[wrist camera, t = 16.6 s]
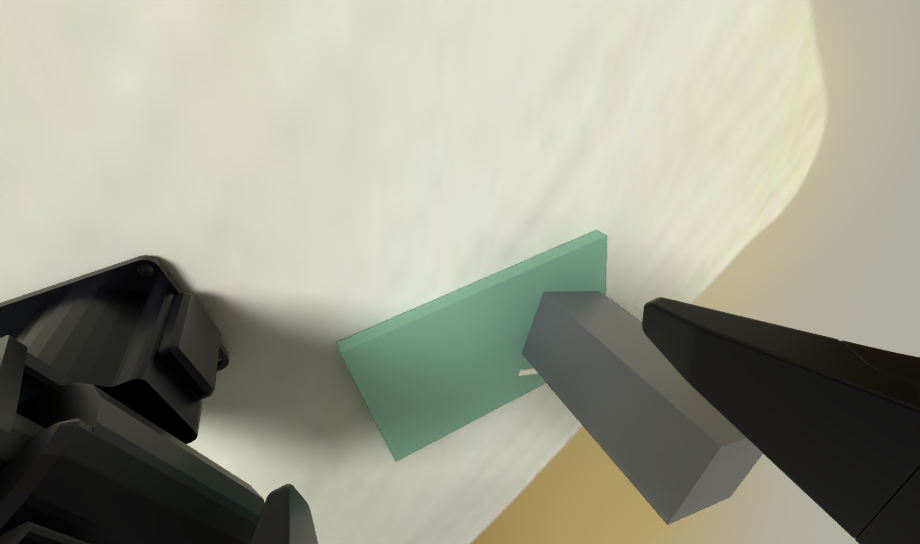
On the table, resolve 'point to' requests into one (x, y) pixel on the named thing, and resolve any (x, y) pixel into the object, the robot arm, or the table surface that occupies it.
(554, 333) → the block
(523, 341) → the board
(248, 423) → the table surface
